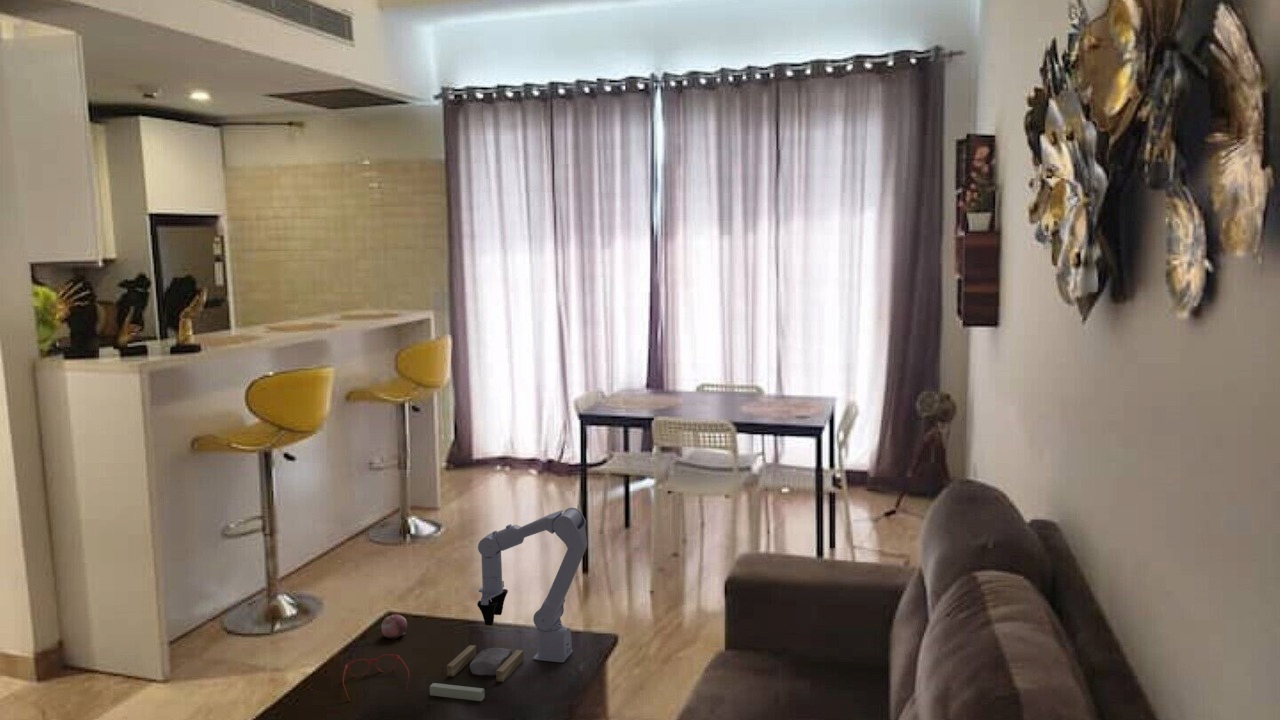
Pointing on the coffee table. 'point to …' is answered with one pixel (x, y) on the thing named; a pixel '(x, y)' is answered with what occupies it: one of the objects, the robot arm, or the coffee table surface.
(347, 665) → the red eyeglasses
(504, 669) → the chute rail right
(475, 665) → the stone block
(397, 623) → the onion
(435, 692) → the end bar
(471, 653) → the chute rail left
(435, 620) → the coffee table surface
